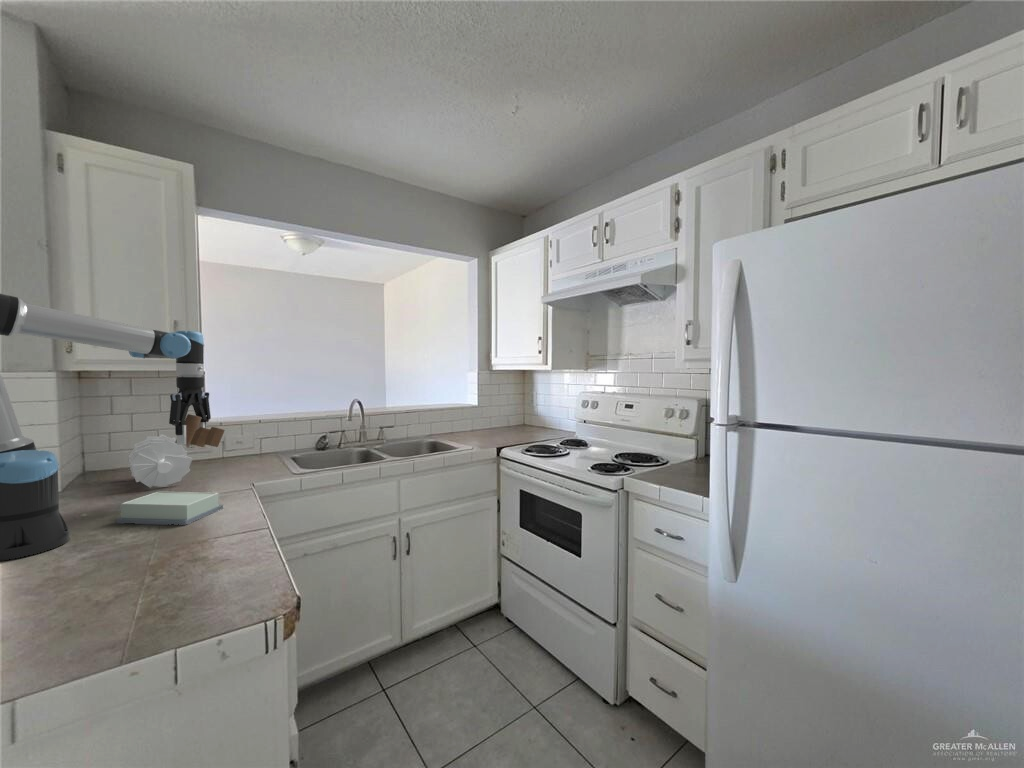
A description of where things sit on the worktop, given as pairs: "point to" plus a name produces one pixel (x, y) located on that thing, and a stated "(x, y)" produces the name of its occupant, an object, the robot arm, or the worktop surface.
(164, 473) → the spiral staircase
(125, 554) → the worktop surface
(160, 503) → the base
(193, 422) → the wooden block set
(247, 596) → the worktop surface
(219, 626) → the worktop surface
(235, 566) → the worktop surface
